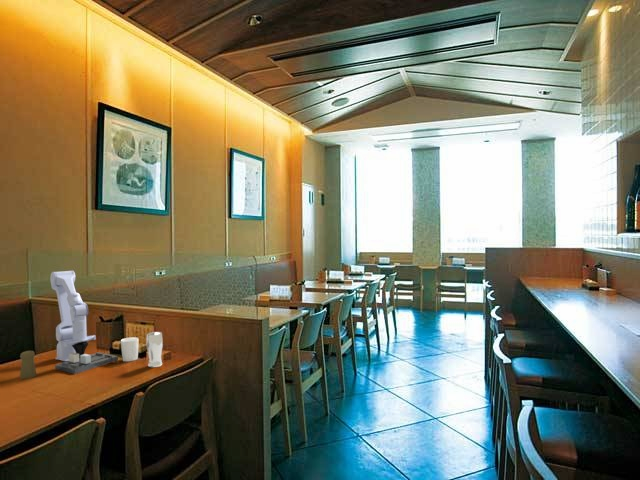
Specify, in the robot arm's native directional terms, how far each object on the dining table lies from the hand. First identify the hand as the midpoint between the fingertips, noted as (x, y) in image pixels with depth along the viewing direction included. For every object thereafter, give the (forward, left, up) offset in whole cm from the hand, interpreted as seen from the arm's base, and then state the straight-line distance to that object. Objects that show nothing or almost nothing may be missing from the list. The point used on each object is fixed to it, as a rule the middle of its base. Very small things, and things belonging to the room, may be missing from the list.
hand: (80, 358), depth 191 cm
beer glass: (+35, +14, -3) cm, 37 cm away
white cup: (+16, +15, -3) cm, 22 cm away
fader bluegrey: (+7, -2, -1) cm, 7 cm away
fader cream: (0, -3, -1) cm, 3 cm away
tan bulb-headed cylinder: (-5, -20, -3) cm, 21 cm away
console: (+4, +1, -3) cm, 5 cm away
